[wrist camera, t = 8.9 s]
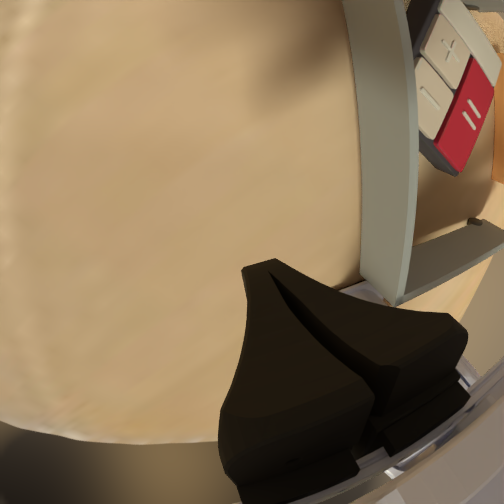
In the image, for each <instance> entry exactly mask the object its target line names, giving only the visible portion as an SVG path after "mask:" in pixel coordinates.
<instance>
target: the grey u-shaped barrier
mask: <svg viewBox="0 0 504 504" xmlns="http://www.w3.org/2000/svg"><path fill="white" fill-rule="evenodd" d="M461 1H462V2H463V4H464V5H465V7H466V8H467V9H469V10H477V11H479V12H504V0H461ZM342 3H343V8H344V13H345V18H346V23H347V29H348V35H349V41H350V47H351V53H352V60H353V68H354V75H355V84H356V93H357V103H358V115H359V128H360V145H361V170H362V230H361V256H360V273H359V274H360V275H361V276H362V277H363V278H364V279H365V280H366V281H368V282H369V283H370V284H371V285H372V286H373V287H374V288H375V289H376V290H377V291H378V292H379V293H380V294H381V295H382V296H383V297H384V298H385V299H386V300H387V301H388V302H389V303H390V304H391V305H392V306H393V307H396V306H398V305H401V304H403V303H405V302H407V301H409V300H411V299H413V298H415V297H417V296H419V295H421V294H423V293H425V292H427V291H429V290H431V289H433V288H435V287H437V286H439V285H441V284H442V283H444V282H446V281H448V280H450V279H452V278H454V277H455V276H457V275H459V274H461V273H463V272H464V271H466V270H468V269H470V268H471V267H473V266H475V265H477V264H478V263H480V262H482V261H483V260H485V259H487V258H488V257H490V256H492V255H493V254H495V253H496V252H498V251H500V250H501V249H503V248H504V230H502V229H501V228H499V227H497V226H495V225H494V224H492V223H490V222H488V221H487V220H485V219H482V220H479V219H477V218H469V222H468V225H467V226H465V227H462V228H460V229H457V230H455V231H453V232H450V233H448V234H445V235H442V236H440V237H437V238H435V239H432V240H430V241H427V242H424V243H422V244H419V245H417V246H414V247H412V242H413V234H414V225H415V215H416V203H417V189H418V166H419V125H418V102H417V88H416V77H415V68H414V60H413V52H412V45H411V39H410V33H409V27H408V22H407V17H406V12H405V8H404V3H403V0H342Z"/></svg>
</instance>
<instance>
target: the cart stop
mask: <svg viewBox="0 0 504 504" xmlns="http://www.w3.org/2000/svg"><path fill="white" fill-rule="evenodd" d="M497 55H498V57H499V58H500V60H501V62H502V65H501V69H500V72H499V76H498V79H497V82H496V85H495V87H494V91H495V92H494V101H495V139H494V158H493V170H492V179H493V180H495V181H498V182H500V183H502V184H504V53H497Z"/></svg>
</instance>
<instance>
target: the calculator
mask: <svg viewBox="0 0 504 504" xmlns="http://www.w3.org/2000/svg"><path fill="white" fill-rule="evenodd" d="M407 11H408V13H407V15H406V17H407V22H408V27H409V33H410V39H411V45H412V52H413V60H414V68H415V77H416V88H417V102H418V125H419V151H420V152H421V153H422V154H423V155H424V156H425V157H426V158H427V159H428V160H429V162H430V163H431V164H432V165H433V166H434V167H435V168H437V169H439V170H441V171H443V172H446V173H448V174H450V175H452V176H454V177H456V176H457V175H458V174H459V172H462V170H463V168H464V166H465V164H466V162H467V160H468V158H469V156H470V153H471V151H472V149H473V147H474V144H475V142H476V140H477V138H478V135H479V133H480V130H481V128H482V125H483V123H484V120H485V118H486V115H487V112H488V110H489V107H490V104H491V101H492V99H493V96H494V92H495V91H494V87H495V85H496V82H497V79H498V76H499V72H500V69H501V65H502V62H501V60H500V58H499V57H498V55H497V53H496V51H495V50H494V48H493V46H492V45H491V43H490V41H489V40H488V38H487V37H486V35H485V34H484V32H483V31H482V29H481V28H480V26H479V25H478V23H477V22H476V20H475V19H474V17H473V16H472V15H471V13H470V12H469V11H468V9H467V8H466V7H465V5H464V4H463V3H462V1H461V0H411V2H410V4H409V7H408V9H407Z"/></svg>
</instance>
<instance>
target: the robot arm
mask: <svg viewBox="0 0 504 504" xmlns="http://www.w3.org/2000/svg"><path fill="white" fill-rule="evenodd" d="M241 272H242V277H243V282H244V287H245V292H246V297H247V320H246V329H245V336H244V341H243V346H242V351H241V355H240V359H239V363H238V366H237V369H236V372H235V375H234V378H233V381H232V384H231V387H230V389H229V391H228V394H227V396H226V398H225V400H224V403H223V405H222V407H221V410H220V419H219V430H218V448H219V456H220V459H221V462H222V465H223V468H224V471H225V474H226V475H227V476H228V477H229V478H230V479H231V480H232V481H233V483H234V484H235V485H236V486H237V489H238V492H239V495H240V498H241V501H242V502H238V503H234V504H316V503H319V502H322V501H324V500H327V499H329V498H331V497H334V496H336V495H338V494H341V493H343V492H345V491H347V490H349V489H351V488H354V487H356V486H358V485H360V484H362V483H364V482H366V481H368V480H370V479H372V478H373V477H375V476H377V475H379V474H381V473H383V472H385V473H386V474H387V475H388V476H389V477H391V478H392V480H391V481H389V482H388V483H386V484H384V485H382V486H381V487H379V488H377V489H375V490H374V491H372V492H370V493H368V494H366V495H364V496H362V497H360V498H359V499H357V500H355V501H353V502H351V503H349V504H504V356H503V357H502V358H501V359H500V360H499V361H498V362H497V363H496V364H495V365H494V366H493V367H492V368H491V369H489V370H488V371H487V372H486V373H485V374H484V375H483V376H482V377H481V376H480V375H479V373H478V372H477V371H476V369H475V368H474V367H473V366H472V365H471V364H470V362H469V361H468V360H467V359H466V358H465V357H464V356H463V355H462V354H463V351H464V350H465V347H466V345H467V341H468V332H467V330H466V329H465V328H464V327H463V326H462V325H461V324H460V323H458V322H457V321H456V320H455V319H454V318H453V317H452V316H451V315H450V314H448V313H437V312H422V311H413V310H407V309H400V308H395V307H389V306H388V305H387V304H386V303H385V302H384V301H383V298H384V297H383V296H382V295H381V294H380V293H379V292H378V291H377V290H376V289H375V288H374V287H373V286H372V285H371V284H370V283H369V282H368V281H363V282H361V283H358V284H355V285H353V286H350V287H347V288H345V289H342V290H339V291H337V290H335V289H333V288H331V287H328V286H326V285H324V284H322V283H320V282H318V281H316V280H314V279H312V278H310V277H308V276H306V275H304V274H302V273H300V272H299V271H297V270H295V269H293V268H292V267H290V266H288V265H286V264H285V263H283V262H281V261H279V260H278V259H276V258H274V259H271V260H267V261H264V262H260V263H256V264H253V265H249V266H246V267H243V269H242V270H241Z"/></svg>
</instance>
